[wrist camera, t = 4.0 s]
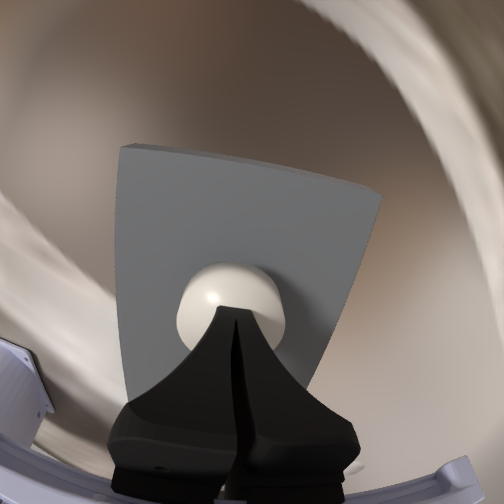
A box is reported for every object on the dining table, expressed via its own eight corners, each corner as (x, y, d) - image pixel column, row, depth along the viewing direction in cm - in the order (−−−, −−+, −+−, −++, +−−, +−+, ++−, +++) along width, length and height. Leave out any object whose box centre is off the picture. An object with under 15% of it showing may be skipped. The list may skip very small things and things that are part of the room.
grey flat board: (262, 450, 25) (263, 466, 23) (142, 434, 24) (139, 450, 22) (366, 186, 15) (382, 195, 13) (135, 143, 13) (120, 146, 11)
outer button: (266, 332, 15) (271, 369, 13) (183, 320, 15) (174, 357, 12) (287, 258, 14) (297, 289, 11) (191, 243, 13) (180, 271, 11)
